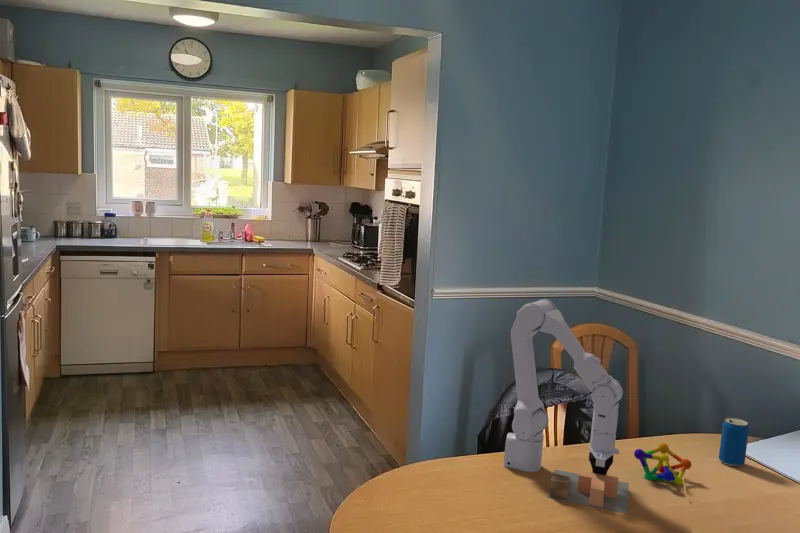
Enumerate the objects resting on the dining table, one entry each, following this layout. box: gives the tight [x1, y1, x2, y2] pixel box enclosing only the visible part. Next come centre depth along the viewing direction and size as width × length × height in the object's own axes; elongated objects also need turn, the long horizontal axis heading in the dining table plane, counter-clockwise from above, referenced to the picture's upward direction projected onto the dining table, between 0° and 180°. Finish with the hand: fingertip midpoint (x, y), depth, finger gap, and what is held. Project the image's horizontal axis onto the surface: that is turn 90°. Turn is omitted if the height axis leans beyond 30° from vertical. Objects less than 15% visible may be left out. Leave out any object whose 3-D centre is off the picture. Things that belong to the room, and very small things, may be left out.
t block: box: [577, 470, 619, 507], centre depth 159 cm, size 9×9×4 cm
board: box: [546, 469, 629, 515], centre depth 163 cm, size 18×17×1 cm
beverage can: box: [718, 417, 750, 468], centre depth 187 cm, size 6×6×12 cm
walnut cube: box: [549, 473, 570, 500], centre depth 160 cm, size 4×4×4 cm
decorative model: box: [633, 442, 692, 486], centre depth 174 cm, size 13×9×15 cm
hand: (598, 483), depth 165 cm, fingers closed
